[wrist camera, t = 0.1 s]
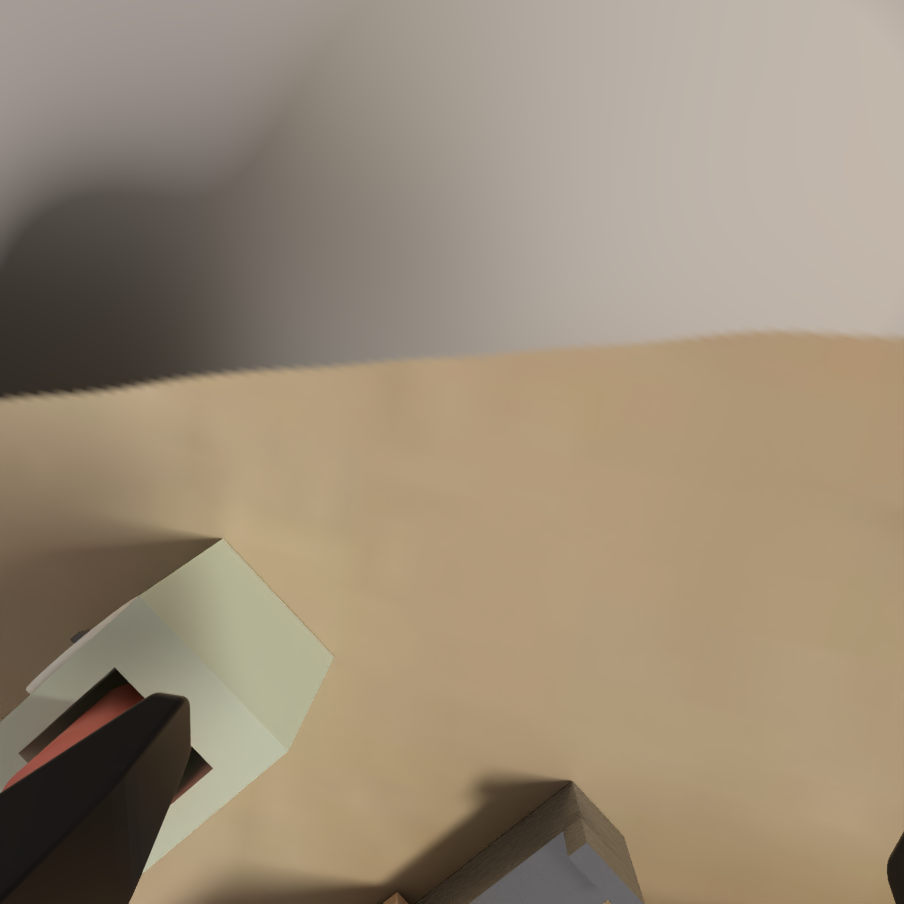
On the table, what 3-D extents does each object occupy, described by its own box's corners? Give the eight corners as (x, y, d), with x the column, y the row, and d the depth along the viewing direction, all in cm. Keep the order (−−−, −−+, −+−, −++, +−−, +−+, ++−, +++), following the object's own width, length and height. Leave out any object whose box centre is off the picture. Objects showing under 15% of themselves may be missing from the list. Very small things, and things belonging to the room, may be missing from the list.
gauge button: (142, 799, 20) (61, 903, 16) (70, 726, 20) (-30, 814, 16) (214, 737, 20) (150, 829, 16) (141, 662, 20) (57, 736, 16)
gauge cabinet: (183, 785, 25) (93, 914, 19) (64, 664, 25) (-66, 758, 19) (334, 657, 24) (287, 750, 18) (213, 529, 24) (126, 583, 18)
